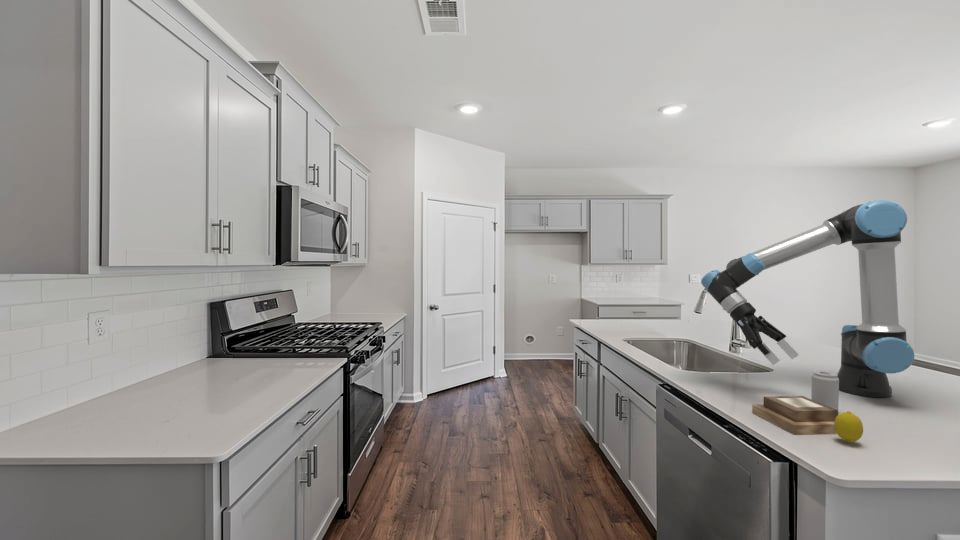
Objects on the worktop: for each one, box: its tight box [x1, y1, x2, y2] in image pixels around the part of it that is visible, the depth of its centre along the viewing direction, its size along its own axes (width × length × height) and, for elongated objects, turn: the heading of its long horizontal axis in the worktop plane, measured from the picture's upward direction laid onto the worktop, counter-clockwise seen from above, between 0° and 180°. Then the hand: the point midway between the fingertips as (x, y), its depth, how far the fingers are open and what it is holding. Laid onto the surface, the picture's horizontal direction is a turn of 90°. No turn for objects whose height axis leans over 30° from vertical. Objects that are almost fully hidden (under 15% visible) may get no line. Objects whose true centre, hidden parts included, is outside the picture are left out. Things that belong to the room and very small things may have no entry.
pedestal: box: [751, 395, 839, 435], centre depth 122 cm, size 16×16×6 cm
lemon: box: [834, 411, 864, 444], centre depth 108 cm, size 6×6×8 cm
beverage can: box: [810, 370, 840, 411], centre depth 129 cm, size 6×6×12 cm
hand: (786, 359), depth 138 cm, fingers open, 13 cm apart
